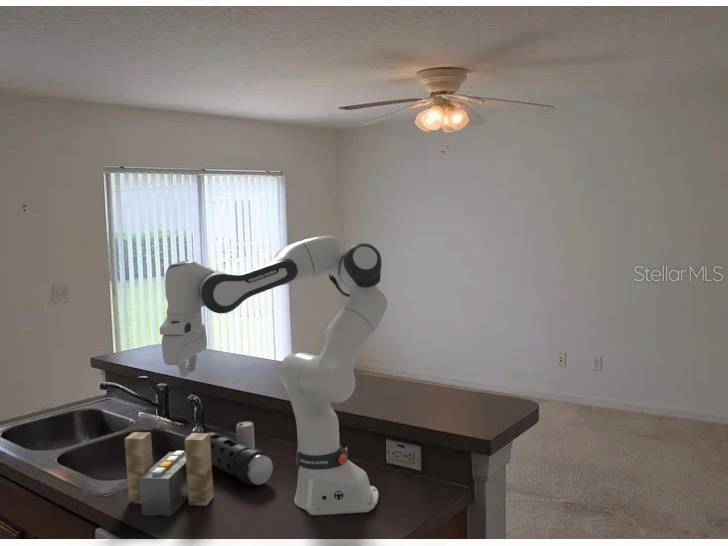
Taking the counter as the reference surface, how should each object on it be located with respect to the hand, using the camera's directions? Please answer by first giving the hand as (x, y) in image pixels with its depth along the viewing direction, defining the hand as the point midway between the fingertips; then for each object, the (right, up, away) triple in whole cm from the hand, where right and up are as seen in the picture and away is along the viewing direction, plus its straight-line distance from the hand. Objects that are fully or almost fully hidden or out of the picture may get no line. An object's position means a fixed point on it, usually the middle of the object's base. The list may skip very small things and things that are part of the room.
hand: (188, 373), depth 171 cm
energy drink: (+10, -32, +30) cm, 45 cm away
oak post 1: (-14, -35, +6) cm, 38 cm away
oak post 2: (+3, -35, +3) cm, 35 cm away
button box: (-6, -35, +4) cm, 36 cm away
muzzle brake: (+9, -34, +19) cm, 40 cm away
